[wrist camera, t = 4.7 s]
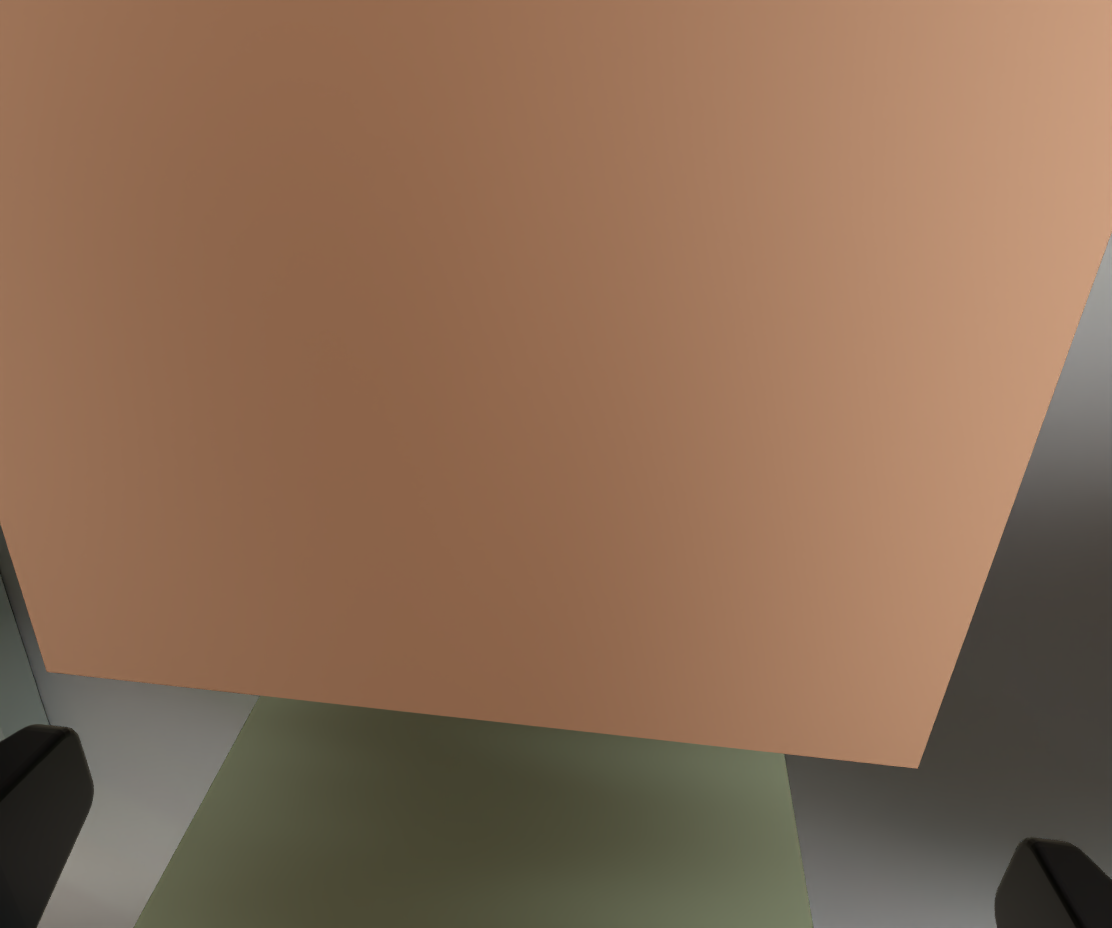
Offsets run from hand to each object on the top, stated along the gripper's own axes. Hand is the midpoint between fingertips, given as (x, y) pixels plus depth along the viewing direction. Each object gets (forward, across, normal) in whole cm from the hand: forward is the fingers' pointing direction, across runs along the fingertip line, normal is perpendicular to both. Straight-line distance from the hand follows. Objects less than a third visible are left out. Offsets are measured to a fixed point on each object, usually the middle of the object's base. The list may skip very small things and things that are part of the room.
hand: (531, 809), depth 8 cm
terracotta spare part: (+3, 0, -6) cm, 7 cm away
